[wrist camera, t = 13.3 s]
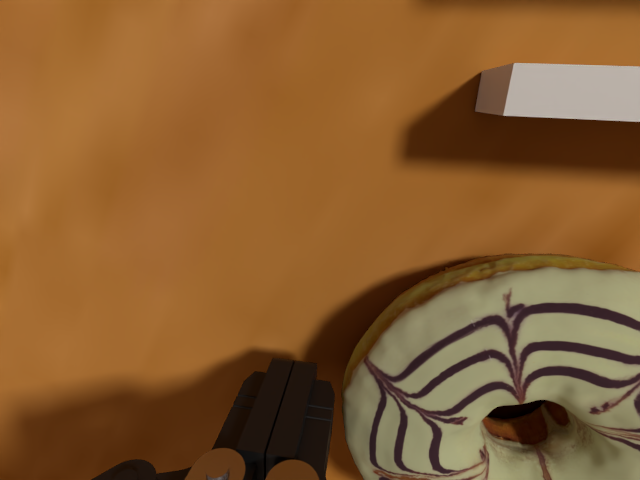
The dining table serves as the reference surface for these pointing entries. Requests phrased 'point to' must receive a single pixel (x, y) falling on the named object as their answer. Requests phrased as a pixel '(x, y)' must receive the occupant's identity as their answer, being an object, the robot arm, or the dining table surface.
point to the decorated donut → (501, 374)
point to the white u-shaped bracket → (561, 91)
